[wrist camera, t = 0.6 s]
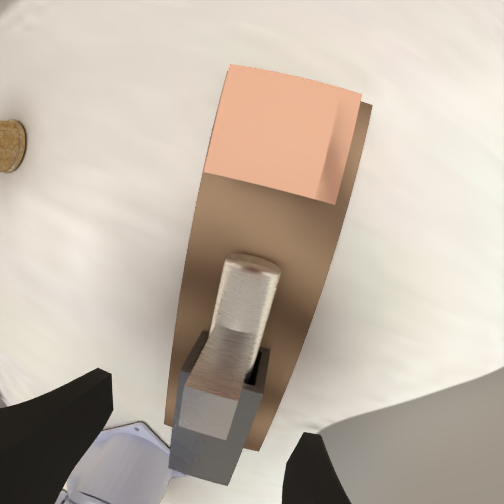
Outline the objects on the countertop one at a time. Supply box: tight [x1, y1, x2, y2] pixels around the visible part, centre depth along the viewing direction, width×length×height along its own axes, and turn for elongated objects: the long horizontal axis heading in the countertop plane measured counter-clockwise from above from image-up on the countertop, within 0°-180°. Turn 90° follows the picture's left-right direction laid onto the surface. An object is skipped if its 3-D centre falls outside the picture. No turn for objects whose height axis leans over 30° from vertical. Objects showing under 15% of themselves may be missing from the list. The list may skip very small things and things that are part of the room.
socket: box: [204, 64, 362, 205], centre depth 14 cm, size 4×5×5 cm
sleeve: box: [168, 331, 271, 486], centre depth 19 cm, size 10×4×4 cm, turn 167°
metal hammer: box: [178, 254, 281, 440], centre depth 15 cm, size 14×3×8 cm, turn 167°
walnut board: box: [164, 71, 372, 451], centre depth 19 cm, size 26×8×1 cm, turn 167°
